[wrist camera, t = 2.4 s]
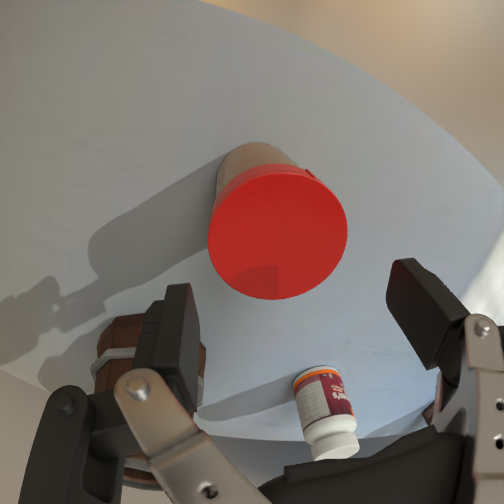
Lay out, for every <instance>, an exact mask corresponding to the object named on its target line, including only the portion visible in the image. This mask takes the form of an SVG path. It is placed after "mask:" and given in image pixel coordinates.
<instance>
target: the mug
mask: <svg viewBox="0 0 504 504" xmlns="http://www.w3.org/2000/svg"><path fill="white" fill-rule="evenodd" d="M145 314H146V313H145ZM145 314H137V315H129V316H121V317H116V318H115V319H114V320H113V322H112V323H111V324H110V325H109V326H108V327H107V328H106V330H105V331H104V332H103V333H102V334H101V336H100V339H99V342H98V344H97V353H98V359H97V360H96V362H95V363H94V364H93V365H92V366H91V369H90V371H91V374H92V377H93V379H94V382H95V391H94V394H95V393H99V392H103V391H107V390H110V389H113V388H115V385H116V383H117V381H118V380H119V378H120V377H121V376H122V375H124V374H125V373H127V372H128V371H131V368H132V363H133V359H134V355H135V351H136V347H137V343H138V339H139V336H140V334H141V328H142V325H143V321H144V317H145ZM205 360H206V348H205V347H204V345H203V344H202V343H201V342H199V363H198V389H197V407H199V406H201V405H202V399H203V390H204V380H203V378H204V369H205ZM187 413H188V415H189V416H190V417H191V419H192V420H193V415H194V412H187ZM146 459H147V458H146V456H145V454H144V452H141V453H137V454H133V455H128V456H126V460H125V467H124V475H123V483H122V485H124V486H128V487H132V488H137V489H142V490H153V491H164V490H163V489H162V487H161V486H160V484H159V483H158V481H157V480H156V478H155V477H154V475H153V473H152V472H151V470H150V468H149V467H148V465H147V462H146Z"/></svg>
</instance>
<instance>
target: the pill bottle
mask: <svg viewBox="0 0 504 504" xmlns="http://www.w3.org/2000/svg"><path fill="white" fill-rule="evenodd" d="M293 390H294V395H295V400H296V404H297V409H298V413H299V418H300V422H301V426H302V431H303V435H304V439H305V440H306V442H307V443H309V444H311V445H312V447H311V453H312V456H313V460H314V461H318V460H322V459H346V458H348V457H350V456H352V455H353V454H355V453H356V452H357V451H358V450H359V444H358V440H357V436H356V434H354V433H353V432H354V431H355V429H356V425H357V424H356V419H355V416H354V413H353V410H352V407H351V405H350V402H349V399H348V396H347V393H346V390H345V388H344V385H343V382H342V380H341V377H340V374H339V372H338V371H337V370H336V369H334V368H332V367H329V366H319V367H315V368H311V369H309V370H307V371H305V372H303V373H301V374H300V375H299V376H298V377H297V378H296V379H295V381H294V383H293Z"/></svg>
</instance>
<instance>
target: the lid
mask: <svg viewBox="0 0 504 504" xmlns="http://www.w3.org/2000/svg"><path fill="white" fill-rule="evenodd" d="M347 229H348V228H347V220H346V216H345V213H344V210H343V208H342V206H341V204H340V202H339V200H338V199H337V197H336V196H335V195H334V194H333V193H332V192H331V191H330V190H329V189H328V188H327V187H326V186H325V185H324V184H323V183H322V182H321V181H320V180H319V179H317V178H316V177H315V176H314V175H313V174H312V173H311V172H310V171H309V170H308V169H305V170H304V169H301V168H299V167H296V166H292V165H288V164H265V165H260V166H256V167H253V168H251V169H248V170H246V171H244V172H242V173H241V174H239V175H237V176H236V177H235V178H233V179H232V180H231V181H230V182H229V183H228V184H227V185H226V186H225V187H224V188H223V189H222V191H221V192H220V193H219V195H218V197H217V198H216V200H215V202H214V205H213V207H212V210H211V214H210V221H209V233H208V250H209V254H210V258H211V261H212V263H213V266H214V268H215V269H216V271H217V273H218V274H219V275H220V276H221V278H222V279H223V280H224V281H225V282H226V283H227V284H228V285H230V286H231V287H232V288H234V289H235V290H237V291H239V292H241V293H243V294H245V295H248V296H251V297H254V298H259V299H267V300H277V299H285V298H290V297H294V296H298V295H300V294H303V293H305V292H307V291H309V290H311V289H313V288H314V287H316V286H317V285H319V284H320V283H321V282H322V281H324V280H325V279H326V278H327V277H328V276H329V275H330V274H331V273H332V271H333V270H334V269H335V267H336V266H337V264H338V263H339V261H340V259H341V257H342V255H343V253H344V250H345V246H346V242H347Z"/></svg>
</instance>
